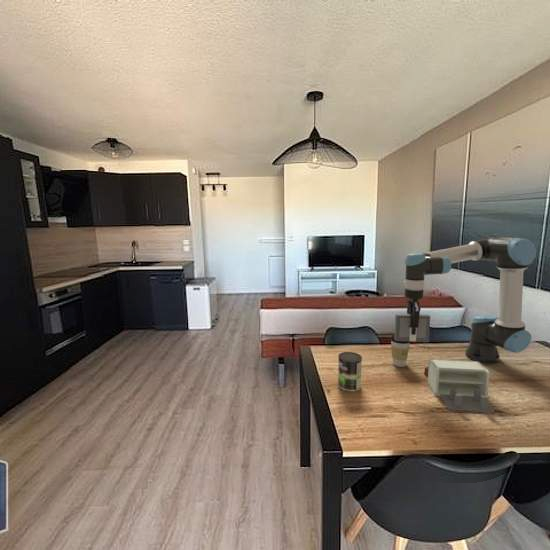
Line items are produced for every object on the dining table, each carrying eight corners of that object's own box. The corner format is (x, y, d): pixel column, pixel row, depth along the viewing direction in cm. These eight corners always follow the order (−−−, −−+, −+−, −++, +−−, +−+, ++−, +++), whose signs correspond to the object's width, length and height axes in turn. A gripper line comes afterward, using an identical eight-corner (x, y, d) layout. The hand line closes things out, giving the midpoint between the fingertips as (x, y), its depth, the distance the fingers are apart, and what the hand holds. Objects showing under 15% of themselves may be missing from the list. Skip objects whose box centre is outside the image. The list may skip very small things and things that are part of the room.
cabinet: (475, 386, 135) (478, 361, 133) (499, 413, 116) (503, 384, 114) (427, 383, 138) (429, 358, 136) (443, 409, 119) (445, 381, 117)
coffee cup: (412, 368, 153) (414, 340, 151) (393, 368, 153) (394, 340, 151) (405, 359, 163) (406, 332, 160) (386, 359, 163) (387, 333, 161)
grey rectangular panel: (426, 340, 138) (428, 314, 136) (428, 342, 135) (430, 316, 133) (394, 338, 140) (395, 313, 138) (395, 341, 138) (396, 315, 136)
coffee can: (346, 393, 132) (347, 363, 129) (333, 382, 141) (333, 354, 139) (366, 388, 136) (367, 358, 133) (352, 378, 145) (352, 350, 143)
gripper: (401, 285, 142) (399, 332, 146) (409, 292, 127) (406, 345, 131) (418, 285, 141) (415, 333, 145) (428, 292, 126) (425, 346, 129)
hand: (411, 339), depth 138 cm, fingers closed on grey rectangular panel, 3 cm apart
